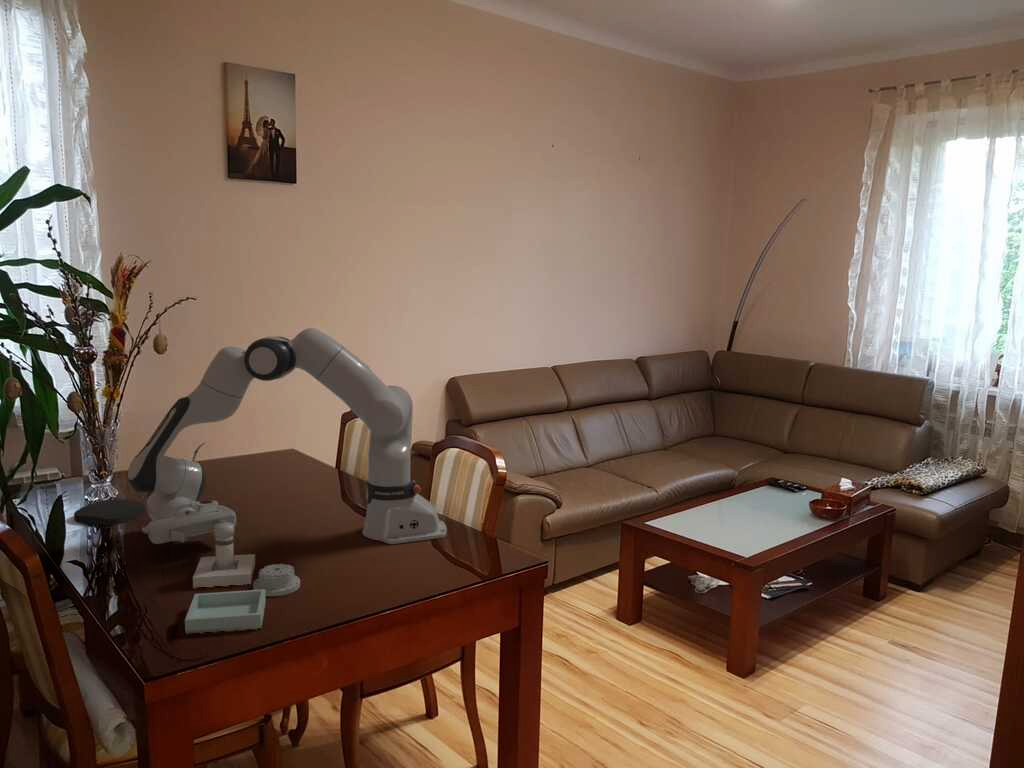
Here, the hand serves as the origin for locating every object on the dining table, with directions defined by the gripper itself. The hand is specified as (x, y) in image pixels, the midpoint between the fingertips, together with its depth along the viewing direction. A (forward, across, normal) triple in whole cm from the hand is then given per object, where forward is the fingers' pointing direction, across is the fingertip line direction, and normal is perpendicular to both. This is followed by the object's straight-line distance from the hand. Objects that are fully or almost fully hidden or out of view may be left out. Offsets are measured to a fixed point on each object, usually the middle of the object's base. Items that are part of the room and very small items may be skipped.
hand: (205, 534), depth 185 cm
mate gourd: (-58, +18, +7) cm, 62 cm away
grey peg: (+11, 0, +7) cm, 13 cm away
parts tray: (+31, -9, +7) cm, 33 cm away
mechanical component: (+24, +6, +7) cm, 26 cm away
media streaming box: (-49, -7, +7) cm, 50 cm away
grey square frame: (+11, 0, +7) cm, 13 cm away
